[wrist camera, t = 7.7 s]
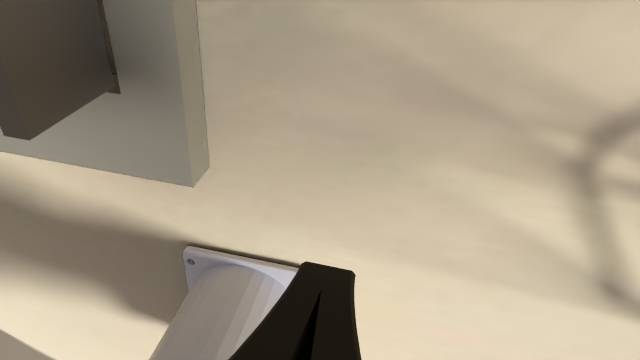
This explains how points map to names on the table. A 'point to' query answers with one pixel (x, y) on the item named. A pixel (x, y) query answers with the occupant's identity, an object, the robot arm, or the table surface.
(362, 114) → the table surface
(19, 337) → the table surface
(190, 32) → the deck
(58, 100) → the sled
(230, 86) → the table surface
